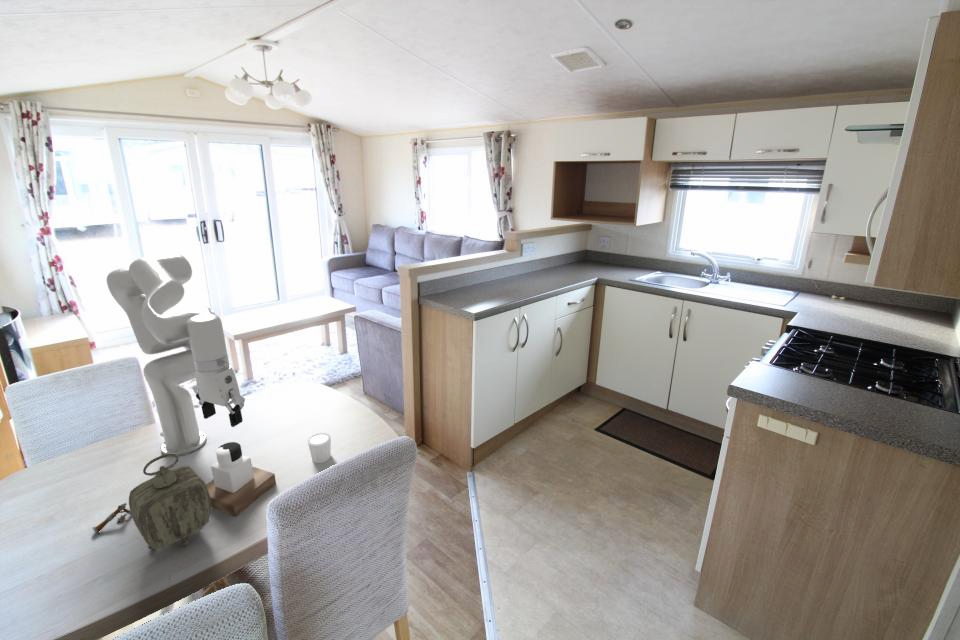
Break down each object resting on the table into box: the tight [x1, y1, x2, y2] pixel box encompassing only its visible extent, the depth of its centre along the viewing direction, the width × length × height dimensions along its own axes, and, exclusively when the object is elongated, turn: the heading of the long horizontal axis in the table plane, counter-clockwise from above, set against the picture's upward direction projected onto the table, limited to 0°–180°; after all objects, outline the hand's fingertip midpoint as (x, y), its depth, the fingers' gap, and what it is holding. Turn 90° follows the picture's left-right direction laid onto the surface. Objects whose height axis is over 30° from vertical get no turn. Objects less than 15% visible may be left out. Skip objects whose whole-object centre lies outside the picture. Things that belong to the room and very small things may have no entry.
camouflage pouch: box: [128, 454, 212, 550], centre depth 107 cm, size 14×9×25 cm, turn 140°
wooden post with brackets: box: [91, 502, 131, 534], centre depth 116 cm, size 2×8×4 cm, turn 145°
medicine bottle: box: [210, 441, 254, 493], centre depth 124 cm, size 7×7×12 cm
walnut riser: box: [205, 466, 277, 517], centre depth 127 cm, size 14×14×4 cm
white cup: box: [307, 432, 332, 464], centre depth 142 cm, size 7×7×7 cm
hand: (223, 420), depth 119 cm, fingers open, 9 cm apart
